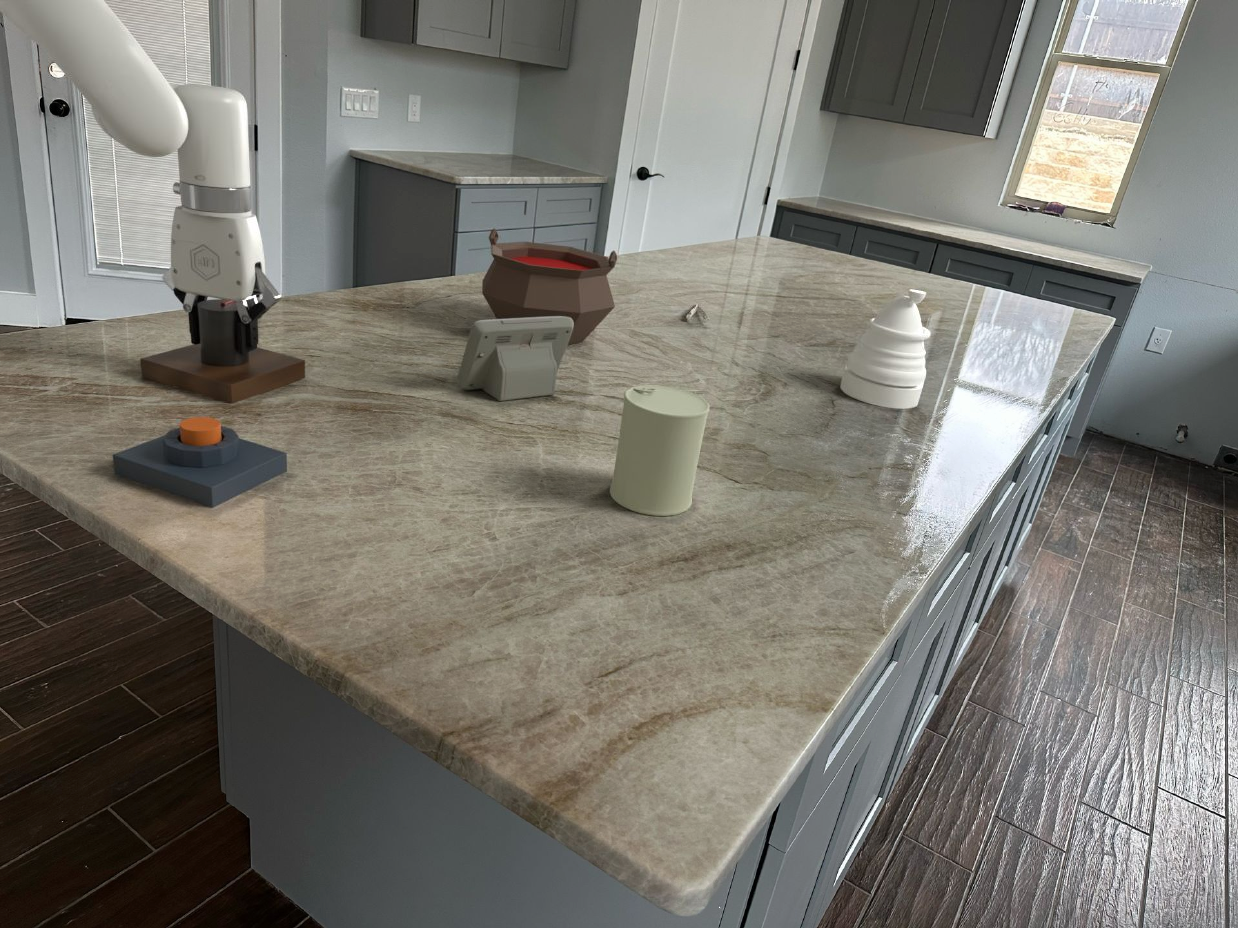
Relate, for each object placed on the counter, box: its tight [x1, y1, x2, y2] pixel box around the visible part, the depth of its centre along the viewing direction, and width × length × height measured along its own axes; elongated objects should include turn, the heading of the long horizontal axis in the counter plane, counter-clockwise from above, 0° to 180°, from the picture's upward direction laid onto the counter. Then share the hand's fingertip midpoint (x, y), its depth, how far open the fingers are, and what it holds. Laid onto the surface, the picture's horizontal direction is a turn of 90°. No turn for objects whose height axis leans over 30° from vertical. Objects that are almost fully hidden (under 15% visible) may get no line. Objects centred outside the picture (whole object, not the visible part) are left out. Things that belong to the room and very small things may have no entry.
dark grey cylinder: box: [197, 298, 249, 366], centre depth 107 cm, size 6×6×7 cm
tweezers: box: [685, 302, 710, 326], centre depth 177 cm, size 18×5×2 cm, turn 175°
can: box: [609, 384, 710, 517], centre depth 92 cm, size 9×9×12 cm
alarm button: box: [179, 416, 222, 446], centre depth 83 cm, size 4×4×2 cm
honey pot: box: [839, 289, 931, 410], centre depth 138 cm, size 13×13×18 cm
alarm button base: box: [112, 425, 288, 509], centre depth 84 cm, size 12×10×4 cm
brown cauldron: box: [481, 227, 618, 346], centre depth 145 cm, size 24×24×16 cm
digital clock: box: [456, 316, 574, 402], centre depth 118 cm, size 16×9×11 cm, turn 116°
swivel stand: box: [139, 344, 306, 405], centre depth 109 cm, size 14×13×2 cm
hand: (224, 345), depth 107 cm, fingers closed on dark grey cylinder, 5 cm apart
